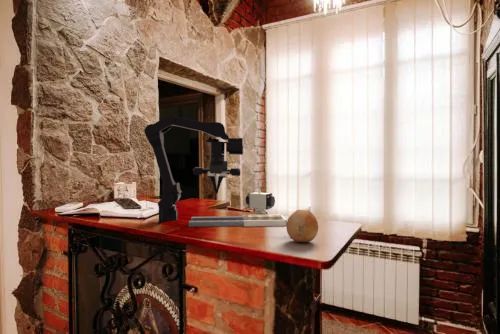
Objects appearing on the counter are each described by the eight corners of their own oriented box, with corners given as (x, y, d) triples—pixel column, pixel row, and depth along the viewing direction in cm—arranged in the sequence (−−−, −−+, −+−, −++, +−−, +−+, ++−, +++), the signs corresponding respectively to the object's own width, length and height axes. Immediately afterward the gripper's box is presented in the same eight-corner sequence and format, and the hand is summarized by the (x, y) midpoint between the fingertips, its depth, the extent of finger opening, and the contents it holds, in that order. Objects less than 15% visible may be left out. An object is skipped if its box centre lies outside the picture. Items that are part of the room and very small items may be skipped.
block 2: (259, 224, 117) (259, 216, 117) (258, 222, 120) (258, 214, 120) (269, 224, 117) (269, 216, 117) (268, 222, 121) (268, 214, 121)
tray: (243, 228, 112) (244, 220, 112) (242, 222, 124) (242, 214, 124) (286, 228, 114) (286, 220, 113) (281, 221, 125) (281, 214, 125)
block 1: (248, 224, 117) (248, 216, 117) (248, 222, 120) (248, 215, 120) (259, 224, 117) (259, 216, 117) (258, 222, 121) (258, 214, 120)
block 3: (269, 224, 117) (269, 216, 117) (268, 222, 121) (268, 214, 121) (280, 224, 118) (280, 216, 117) (278, 222, 121) (278, 214, 121)
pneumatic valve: (270, 221, 126) (270, 192, 125) (245, 218, 131) (245, 190, 131) (275, 218, 130) (276, 190, 130) (251, 216, 136) (251, 189, 135)
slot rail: (188, 229, 112) (188, 222, 112) (191, 223, 122) (191, 216, 121) (243, 228, 113) (243, 221, 113) (242, 222, 123) (242, 216, 123)
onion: (288, 246, 91) (288, 213, 90) (284, 237, 100) (284, 207, 100) (321, 246, 91) (321, 213, 90) (314, 237, 101) (314, 207, 100)
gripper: (191, 153, 116) (190, 195, 116) (240, 154, 117) (240, 196, 117) (195, 153, 127) (194, 191, 127) (240, 154, 128) (239, 192, 128)
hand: (216, 193), depth 125 cm, fingers closed
